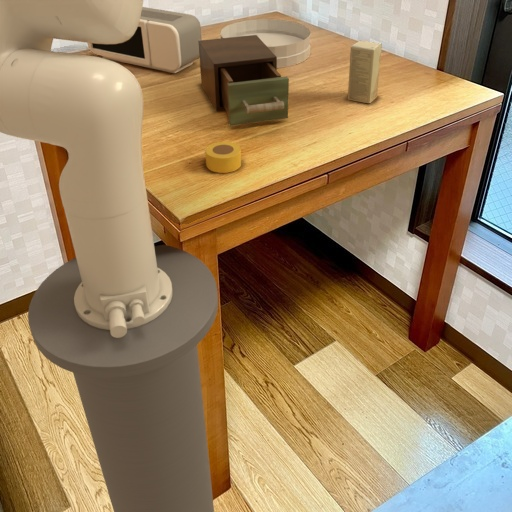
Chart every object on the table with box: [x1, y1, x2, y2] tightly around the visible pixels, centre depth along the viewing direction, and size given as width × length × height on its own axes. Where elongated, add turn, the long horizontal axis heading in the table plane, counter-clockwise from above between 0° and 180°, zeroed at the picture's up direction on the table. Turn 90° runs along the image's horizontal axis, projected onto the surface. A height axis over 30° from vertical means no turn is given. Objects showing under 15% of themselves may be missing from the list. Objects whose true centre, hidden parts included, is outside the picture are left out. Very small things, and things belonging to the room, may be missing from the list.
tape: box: [204, 141, 242, 174], centre depth 101 cm, size 6×6×3 cm
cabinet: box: [198, 35, 278, 112], centre depth 123 cm, size 15×13×10 cm
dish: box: [220, 18, 312, 69], centre depth 145 cm, size 22×22×5 cm
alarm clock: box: [86, 6, 203, 74], centre depth 139 cm, size 27×9×12 cm, turn 60°
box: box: [347, 40, 383, 104], centre depth 120 cm, size 5×4×11 cm
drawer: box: [218, 62, 290, 127], centre depth 114 cm, size 18×11×8 cm, turn 16°
